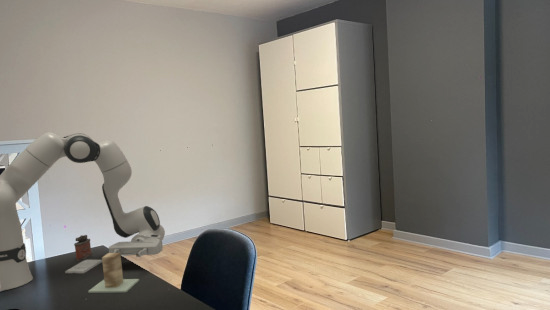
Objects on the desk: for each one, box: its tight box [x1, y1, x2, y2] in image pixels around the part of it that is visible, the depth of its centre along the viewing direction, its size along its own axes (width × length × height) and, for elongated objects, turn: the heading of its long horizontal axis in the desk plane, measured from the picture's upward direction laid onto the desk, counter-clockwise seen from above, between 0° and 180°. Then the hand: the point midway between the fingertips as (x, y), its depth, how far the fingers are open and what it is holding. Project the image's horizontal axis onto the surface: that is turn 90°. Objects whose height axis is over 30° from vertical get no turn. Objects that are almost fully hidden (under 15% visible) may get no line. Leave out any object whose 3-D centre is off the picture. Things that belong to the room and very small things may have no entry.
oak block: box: [101, 252, 124, 288], centre depth 148 cm, size 4×4×11 cm
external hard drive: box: [64, 259, 102, 274], centre depth 171 cm, size 2×8×12 cm
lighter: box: [73, 234, 93, 262], centre depth 183 cm, size 8×3×10 cm, turn 162°
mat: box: [87, 278, 140, 294], centre depth 148 cm, size 14×10×1 cm
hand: (126, 255), depth 157 cm, fingers open, 8 cm apart
